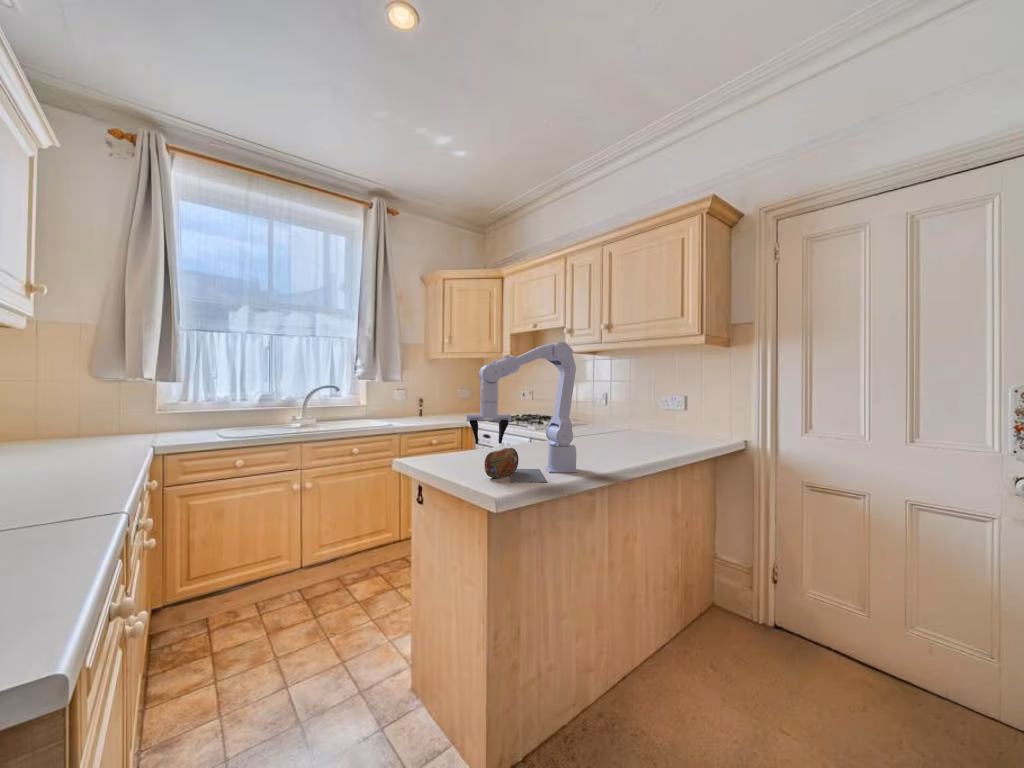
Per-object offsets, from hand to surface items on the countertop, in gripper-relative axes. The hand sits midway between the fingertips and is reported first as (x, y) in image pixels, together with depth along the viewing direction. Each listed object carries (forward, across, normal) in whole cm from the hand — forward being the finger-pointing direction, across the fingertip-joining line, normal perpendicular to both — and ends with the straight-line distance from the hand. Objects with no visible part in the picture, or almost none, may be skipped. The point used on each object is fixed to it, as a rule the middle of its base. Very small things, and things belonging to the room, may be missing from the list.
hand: (488, 443), depth 134 cm
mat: (+10, -12, +3) cm, 16 cm away
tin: (+10, -4, +2) cm, 11 cm away
